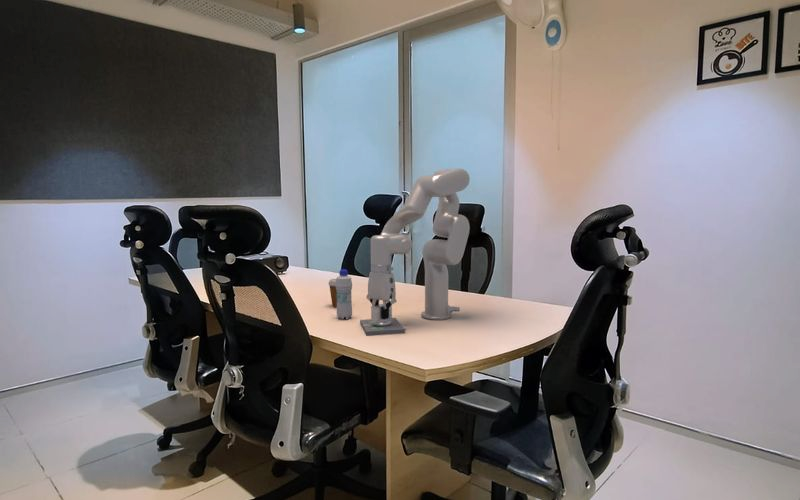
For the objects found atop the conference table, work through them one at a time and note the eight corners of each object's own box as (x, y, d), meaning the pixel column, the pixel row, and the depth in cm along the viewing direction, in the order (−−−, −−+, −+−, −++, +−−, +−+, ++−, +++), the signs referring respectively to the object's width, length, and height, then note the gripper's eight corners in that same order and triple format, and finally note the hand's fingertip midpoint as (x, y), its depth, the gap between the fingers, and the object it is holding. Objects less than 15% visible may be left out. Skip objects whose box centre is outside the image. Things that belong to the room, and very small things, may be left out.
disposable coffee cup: (348, 308, 211) (348, 281, 210) (327, 308, 211) (326, 282, 210) (351, 304, 221) (350, 278, 219) (330, 304, 221) (330, 278, 219)
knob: (395, 323, 180) (395, 304, 179) (376, 329, 172) (376, 309, 171) (382, 320, 184) (381, 302, 183) (362, 325, 176) (362, 307, 176)
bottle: (349, 320, 191) (349, 270, 188) (333, 319, 192) (332, 270, 190) (354, 316, 197) (354, 268, 195) (339, 315, 198) (338, 267, 196)
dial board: (395, 321, 189) (395, 317, 189) (405, 333, 172) (405, 328, 172) (360, 323, 186) (360, 319, 186) (366, 335, 169) (366, 331, 169)
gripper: (405, 269, 175) (405, 319, 177) (370, 266, 185) (370, 313, 186) (392, 272, 169) (393, 323, 171) (357, 268, 178) (357, 316, 180)
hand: (381, 317), depth 179 cm, fingers closed on knob, 3 cm apart
